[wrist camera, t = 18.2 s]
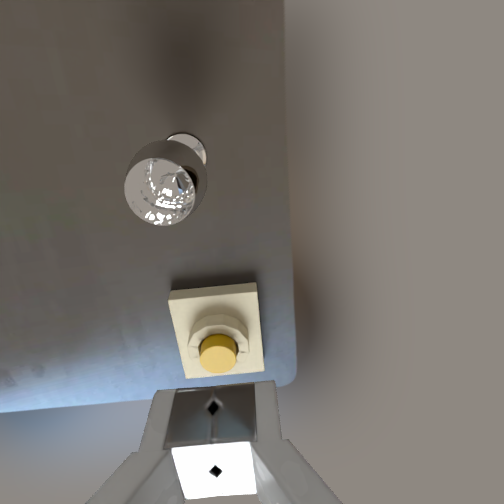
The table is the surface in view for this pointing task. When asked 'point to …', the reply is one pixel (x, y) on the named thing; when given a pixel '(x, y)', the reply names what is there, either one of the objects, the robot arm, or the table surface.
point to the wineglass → (167, 179)
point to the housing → (218, 325)
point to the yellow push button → (218, 353)
